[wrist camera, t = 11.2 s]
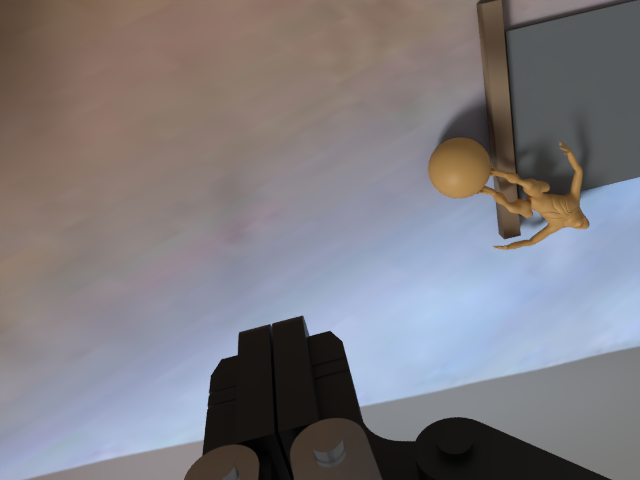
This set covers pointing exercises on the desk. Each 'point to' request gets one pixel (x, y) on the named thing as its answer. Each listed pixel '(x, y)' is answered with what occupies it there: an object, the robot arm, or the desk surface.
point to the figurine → (475, 169)
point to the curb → (498, 109)
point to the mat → (576, 97)
